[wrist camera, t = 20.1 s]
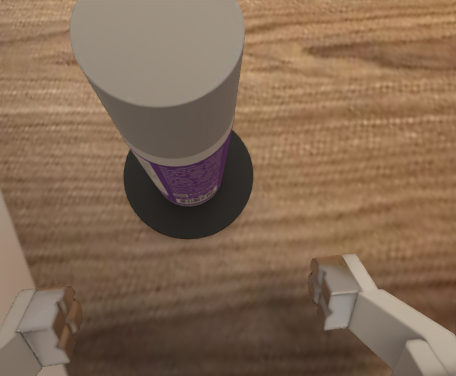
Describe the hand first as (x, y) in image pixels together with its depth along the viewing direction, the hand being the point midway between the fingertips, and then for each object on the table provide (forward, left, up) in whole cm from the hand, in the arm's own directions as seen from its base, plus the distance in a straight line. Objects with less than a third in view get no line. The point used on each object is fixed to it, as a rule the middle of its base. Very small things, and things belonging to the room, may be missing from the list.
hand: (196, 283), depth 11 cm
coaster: (-3, +6, -11) cm, 13 cm away
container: (-3, +6, -11) cm, 13 cm away
